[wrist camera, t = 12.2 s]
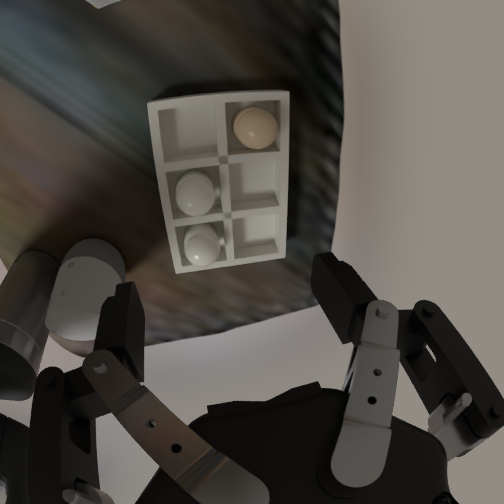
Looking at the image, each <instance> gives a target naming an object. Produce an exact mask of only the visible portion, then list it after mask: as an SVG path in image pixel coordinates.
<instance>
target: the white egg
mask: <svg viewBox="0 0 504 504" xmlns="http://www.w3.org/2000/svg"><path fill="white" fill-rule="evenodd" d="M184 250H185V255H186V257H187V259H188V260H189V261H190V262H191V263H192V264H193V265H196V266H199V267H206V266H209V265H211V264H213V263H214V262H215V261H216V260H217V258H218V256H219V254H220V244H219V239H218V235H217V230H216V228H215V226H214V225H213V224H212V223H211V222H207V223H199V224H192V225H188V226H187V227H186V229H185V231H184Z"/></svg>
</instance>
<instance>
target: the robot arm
mask: <svg viewBox="0 0 504 504" xmlns="http://www.w3.org/2000/svg"><path fill="white" fill-rule="evenodd" d="M59 269H60V265H59V264H58V262H57V261H56V260H55V259H53V258H52V257H51V256H49V255H48V254H46V253H44V252H41V251H35V250H31V251H27V252H25V253H23V254H22V255H21V256H20V258H19V259H18V261H17V262H14V263H13V265H12V266H11V268H10V270H9V271H8V273H7V275H6V276H5V278H4V280H3V282H2V283H1V285H0V399H3V400H15V401H23V400H26V399H29V398H30V397H31V396H32V394H33V392H34V395H33V402H32V410H31V419H30V428H28V427H27V426H26V425H24V424H22V423H20V422H18V421H16V420H13V419H11V418H10V417H7V416H5V415H3V414H1V413H0V491H2V492H5V493H6V495H7V499H6V503H5V504H115V503H114V501H113V500H112V498H111V497H110V496H109V495H108V494H106V493H105V492H103V491H101V490H100V484H99V474H98V463H97V449H96V420H95V419H96V418H97V417H100V416H103V415H106V414H108V413H111V412H112V414H113V415H114V416H115V417H116V419H117V420H118V421H119V422H120V423H121V425H122V426H123V427H124V428H125V429H126V431H127V432H128V433H129V434H130V435H131V436H132V437H133V438H134V440H135V441H136V442H137V443H138V444H139V445H140V446H141V447H142V448H143V449H144V451H145V452H146V453H147V454H148V455H149V456H150V457H151V458H152V459H153V460H154V461H155V462H156V463H157V464H158V465H159V466H160V467H159V468H158V470H157V471H156V473H155V475H154V476H153V477H152V479H151V481H150V482H149V483H148V485H147V486H146V488H145V489H144V491H143V492H142V494H141V496H140V497H139V498H138V500H137V501H136V503H135V504H459V503H458V502H457V501H456V500H455V499H454V498H453V497H452V495H451V493H450V490H449V486H448V479H447V462H448V461H450V460H451V459H453V458H454V457H461V456H463V455H465V454H466V453H468V452H469V451H471V450H472V449H474V448H475V447H476V446H478V445H479V444H480V443H482V442H483V441H485V440H486V439H487V438H489V437H490V436H491V435H493V434H494V433H495V432H496V431H498V430H499V429H500V428H501V427H502V426H504V399H503V397H502V395H501V394H500V392H499V390H498V389H497V387H496V386H495V384H494V383H493V381H492V379H491V378H490V376H489V375H488V373H487V372H486V370H485V369H484V367H483V366H482V364H481V363H480V361H479V360H478V359H477V357H476V356H475V354H474V353H473V351H472V350H471V349H470V347H469V346H468V344H467V343H466V342H465V340H464V339H463V338H462V336H461V335H460V334H459V332H458V331H457V330H456V328H455V327H454V326H453V324H452V323H451V322H450V321H449V319H448V318H447V317H446V315H445V314H444V313H443V312H442V310H441V309H440V308H439V307H438V306H437V305H436V304H435V303H433V302H431V301H427V300H421V301H418V302H417V303H416V304H415V306H414V308H413V310H397V308H396V307H395V306H394V305H393V304H391V303H390V302H387V301H384V300H378V298H377V297H376V296H375V295H374V293H373V292H372V291H371V290H370V288H369V287H368V286H367V285H366V283H365V282H364V281H362V278H361V277H360V276H359V275H358V274H357V272H356V271H355V270H354V269H353V267H352V266H350V265H349V264H347V263H346V262H344V261H339V260H338V259H337V258H336V257H335V256H334V254H333V253H332V252H326V253H319V254H315V255H314V258H313V266H312V274H311V289H312V292H313V294H314V296H315V298H316V299H317V301H318V303H319V304H320V306H321V307H322V309H323V311H324V313H325V314H326V316H327V318H328V320H329V321H330V323H331V325H332V326H333V328H334V330H335V332H336V333H337V335H338V337H339V338H340V340H341V342H342V344H346V343H350V342H352V343H353V345H354V347H353V350H352V354H351V358H350V362H349V366H348V370H347V373H346V377H345V381H344V384H343V387H342V390H337V389H331V388H321V387H320V384H319V382H318V381H317V382H313V383H310V384H306V385H302V386H299V387H295V388H292V389H290V390H288V391H286V392H284V393H282V394H280V395H278V396H276V397H274V398H272V399H270V400H268V401H232V402H226V403H221V404H215V405H208V406H207V409H208V413H207V414H204V415H202V416H200V417H199V418H197V419H195V420H194V421H192V422H191V423H190V424H189V425H188V426H187V425H186V424H184V423H183V422H182V421H181V420H180V419H179V418H178V417H177V416H175V414H173V413H172V412H171V411H170V410H169V409H168V408H167V407H166V406H165V405H164V404H163V403H162V402H161V401H160V400H159V399H158V398H157V397H156V396H155V395H154V394H153V393H152V392H151V391H150V390H149V389H148V388H147V387H145V386H144V385H143V386H141V385H140V383H139V382H144V337H145V315H144V310H143V306H142V303H141V300H140V297H139V294H138V291H137V288H136V285H135V283H134V282H133V281H132V282H125V283H118V284H117V285H116V290H115V295H114V296H110V297H107V299H106V300H105V301H104V303H103V304H102V306H101V311H100V317H99V321H98V323H99V324H98V326H97V331H96V337H95V343H94V349H93V352H91V353H90V354H89V355H87V357H86V358H85V359H84V361H83V364H82V366H81V367H79V368H77V369H74V370H71V371H68V372H66V373H63V372H62V370H61V369H60V368H58V367H48V368H45V369H44V370H42V371H41V372H40V374H39V375H38V371H39V367H40V363H41V359H42V355H43V352H44V348H45V344H46V341H47V338H48V335H49V332H50V330H49V329H48V328H47V327H46V325H45V318H46V314H47V310H48V306H49V302H50V299H51V295H52V291H53V288H54V285H55V281H56V278H57V275H58V272H59ZM426 345H428V346H429V348H430V349H431V350H432V352H433V354H434V355H435V358H436V362H435V361H434V359H433V357H432V356H431V354H430V353H429V351H428V350H427V348H426ZM399 361H400V362H401V364H402V366H403V368H404V369H405V371H406V373H407V375H408V376H409V378H410V380H411V382H412V384H413V385H414V387H415V389H416V391H417V392H418V394H419V396H420V398H421V400H422V402H423V404H424V405H425V407H426V409H427V411H428V413H429V415H430V416H429V418H428V426H429V428H428V432H426V431H424V430H422V429H420V428H418V427H416V426H413V425H411V424H409V423H407V422H405V421H403V420H401V419H399V418H397V417H394V416H392V412H393V406H394V399H395V393H396V385H397V378H398V369H399Z"/></svg>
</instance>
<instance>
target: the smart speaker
mask: <svg viewBox="0 0 504 504" xmlns="http://www.w3.org/2000/svg"><path fill="white" fill-rule="evenodd" d="M125 277H126V271H125V264H124V261H123V258H122V256H121V255H120V253H119V252H118V250H117V249H116V248H115V247H114V246H113V245H111V244H110V243H108V242H106V241H104V240H101V239H95V238H91V239H85V240H82V241H80V242H78V243H76V244H75V245H74V246H73V247H72V248H71V249H70V250H69V251H68V252H67V254H66V255H65V257H64V259H63V261H62V264H61V266H60V269H59V272H58V275H57V278H56V281H55V285H54V288H53V291H52V295H51V299H50V302H49V306H48V310H47V314H46V318H45V325H46V327H47V328H48V329H49V330H50V331H51V332H52V333H54V334H56V335H58V336H60V337H63V338H66V339H71V340H80V341H83V340H94V339H95V337H96V331H97V326H98V324H99V323H98V321H99V317H100V311H101V306H102V304H103V303H104V301H105V300H106V299H107V297H110V296H114V295H115V290H116V285H117V284H118V283H125Z"/></svg>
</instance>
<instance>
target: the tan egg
mask: <svg viewBox="0 0 504 504" xmlns="http://www.w3.org/2000/svg"><path fill="white" fill-rule="evenodd" d="M231 127H232V131H233V133H234V134H235V135H236V137H237V138H238V139H239V140H240V142H241V143H242V144H244V145H245V146H247V147H249V148H252V149H262V148H265V147H267V146H269V145H270V144H271V143H272V142H273V141H274V140H275V138H276V136H277V133H278V125H277V122H276V120H275V118H274V117H273V116H272V115H271V114H270V113H269V112H267V111H265V110H263V109H261V108H259V107H256V106H245V107H242V108H240V109H239V110H238V111H237V112H236V113H235V114H234V116H233V118H232V122H231Z"/></svg>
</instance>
